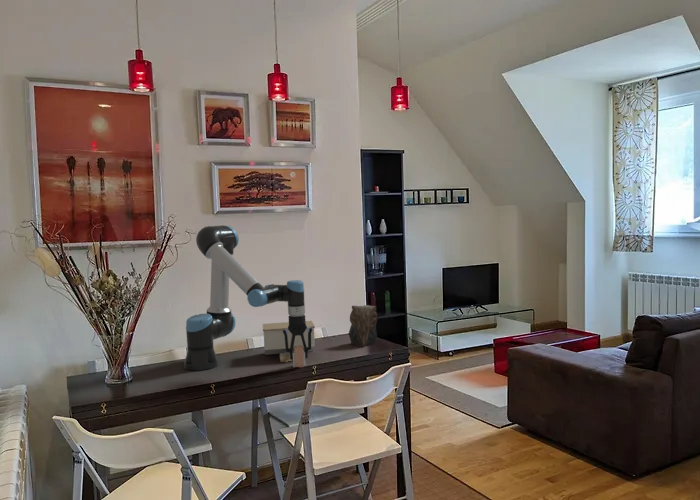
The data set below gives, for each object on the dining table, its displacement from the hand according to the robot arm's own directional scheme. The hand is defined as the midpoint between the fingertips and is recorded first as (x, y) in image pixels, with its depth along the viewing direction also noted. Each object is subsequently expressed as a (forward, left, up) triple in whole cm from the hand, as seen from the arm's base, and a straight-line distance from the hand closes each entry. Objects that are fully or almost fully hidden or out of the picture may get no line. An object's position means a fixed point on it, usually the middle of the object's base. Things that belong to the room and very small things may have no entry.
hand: (299, 365), depth 245 cm
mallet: (-3, +6, 0) cm, 7 cm away
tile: (-6, +11, -1) cm, 12 cm away
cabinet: (-3, +22, 0) cm, 22 cm away
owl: (+36, +33, 0) cm, 48 cm away
